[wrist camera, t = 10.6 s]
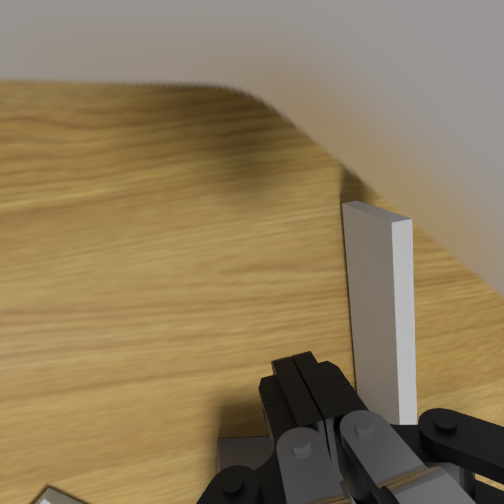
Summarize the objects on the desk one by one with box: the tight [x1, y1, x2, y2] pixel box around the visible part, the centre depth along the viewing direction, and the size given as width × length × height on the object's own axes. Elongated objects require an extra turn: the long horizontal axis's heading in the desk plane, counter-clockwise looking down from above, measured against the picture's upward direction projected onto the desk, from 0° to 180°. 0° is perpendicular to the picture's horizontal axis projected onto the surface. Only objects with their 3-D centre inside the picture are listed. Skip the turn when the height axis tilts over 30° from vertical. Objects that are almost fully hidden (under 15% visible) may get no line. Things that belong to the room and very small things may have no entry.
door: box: [342, 200, 417, 425], centre depth 23 cm, size 18×2×6 cm, turn 9°
